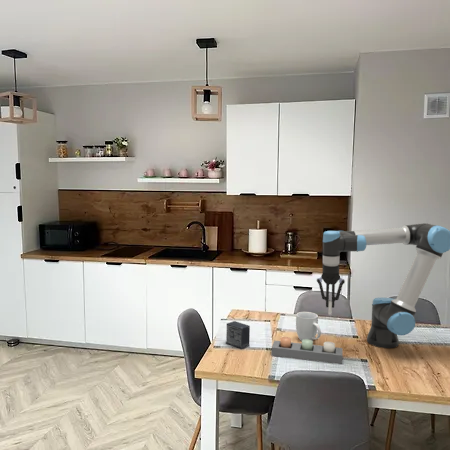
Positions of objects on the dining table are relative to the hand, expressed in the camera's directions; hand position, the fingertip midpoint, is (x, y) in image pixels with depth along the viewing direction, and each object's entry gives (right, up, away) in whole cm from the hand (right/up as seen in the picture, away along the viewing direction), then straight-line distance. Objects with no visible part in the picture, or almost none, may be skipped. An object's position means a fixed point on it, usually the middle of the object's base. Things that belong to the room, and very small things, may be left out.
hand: (329, 314), depth 202 cm
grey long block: (-11, -20, 0) cm, 22 cm away
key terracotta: (-20, -16, +2) cm, 26 cm away
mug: (-7, -18, +20) cm, 27 cm away
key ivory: (-1, -17, -3) cm, 17 cm away
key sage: (-11, -16, 0) cm, 20 cm away
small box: (-43, -18, +13) cm, 48 cm away
